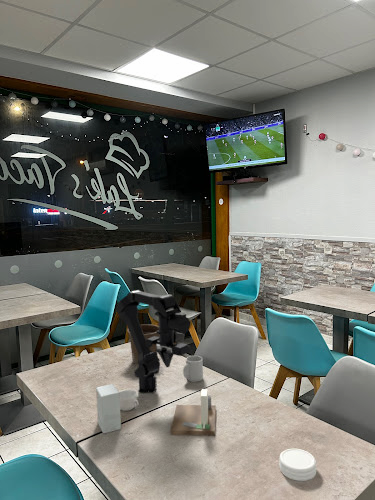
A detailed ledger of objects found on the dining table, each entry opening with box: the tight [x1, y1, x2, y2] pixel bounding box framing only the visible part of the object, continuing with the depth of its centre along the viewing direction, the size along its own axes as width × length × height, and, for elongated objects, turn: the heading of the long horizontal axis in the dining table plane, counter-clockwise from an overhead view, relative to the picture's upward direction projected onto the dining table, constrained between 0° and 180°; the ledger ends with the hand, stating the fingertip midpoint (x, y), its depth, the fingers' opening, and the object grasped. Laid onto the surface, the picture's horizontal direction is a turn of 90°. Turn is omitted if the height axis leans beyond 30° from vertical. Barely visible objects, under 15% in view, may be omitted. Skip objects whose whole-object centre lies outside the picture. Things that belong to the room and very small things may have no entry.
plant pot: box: [126, 324, 159, 365], centre depth 193 cm, size 16×16×16 cm
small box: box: [95, 383, 122, 434], centre depth 134 cm, size 8×6×13 cm
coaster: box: [278, 448, 317, 482], centre depth 110 cm, size 10×10×4 cm
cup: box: [182, 355, 204, 383], centre depth 170 cm, size 7×10×9 cm
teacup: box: [118, 389, 140, 412], centre depth 146 cm, size 10×8×5 cm
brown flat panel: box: [170, 404, 217, 437], centre depth 136 cm, size 14×17×2 cm
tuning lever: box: [200, 388, 212, 429], centre depth 135 cm, size 16×4×10 cm, turn 174°
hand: (167, 366), depth 152 cm, fingers closed
